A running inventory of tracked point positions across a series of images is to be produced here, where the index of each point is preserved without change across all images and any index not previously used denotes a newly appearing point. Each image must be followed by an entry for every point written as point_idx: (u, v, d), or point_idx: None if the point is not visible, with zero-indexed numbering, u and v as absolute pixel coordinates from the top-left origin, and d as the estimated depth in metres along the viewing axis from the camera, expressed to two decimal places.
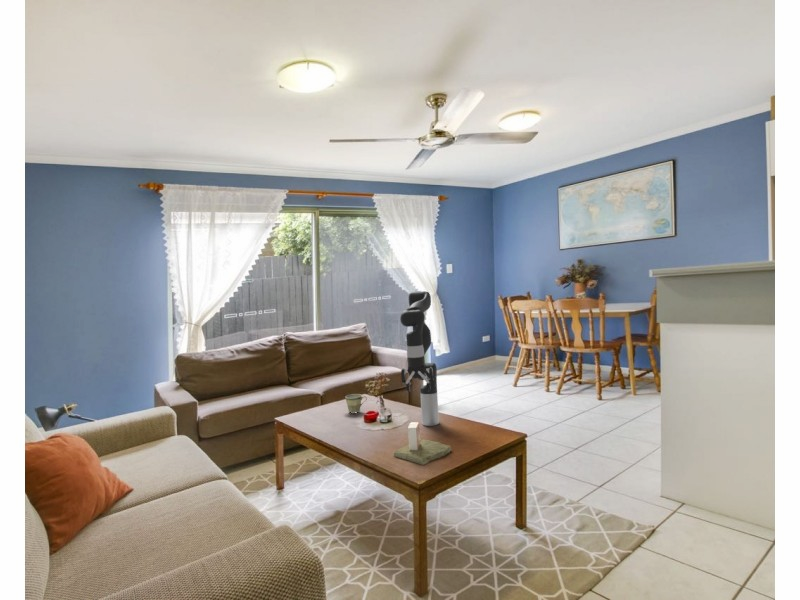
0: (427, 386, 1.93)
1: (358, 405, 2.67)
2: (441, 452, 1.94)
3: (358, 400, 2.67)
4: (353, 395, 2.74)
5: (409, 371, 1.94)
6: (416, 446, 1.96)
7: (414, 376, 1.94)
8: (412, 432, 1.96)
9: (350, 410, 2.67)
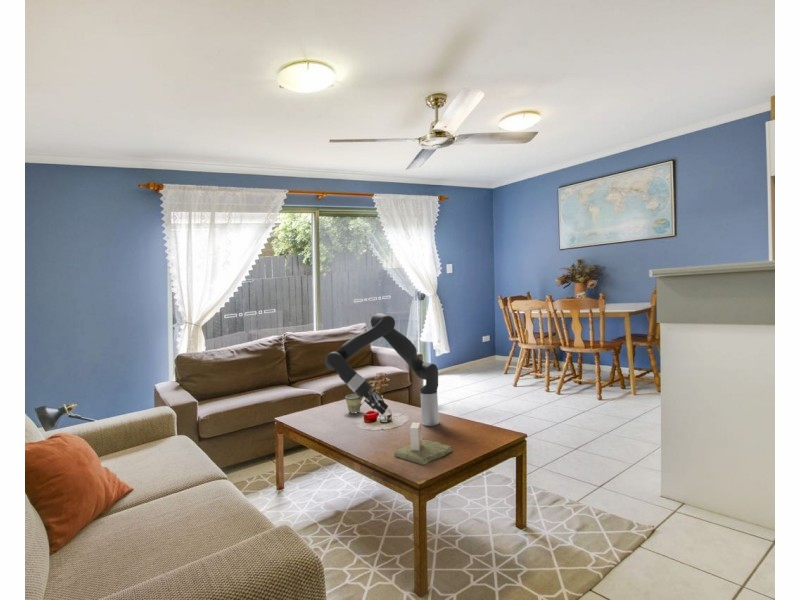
0: None
1: (358, 405, 2.67)
2: (441, 452, 1.94)
3: (358, 400, 2.67)
4: (353, 395, 2.74)
5: None
6: (418, 446, 1.95)
7: None
8: (414, 432, 1.95)
9: (350, 410, 2.67)
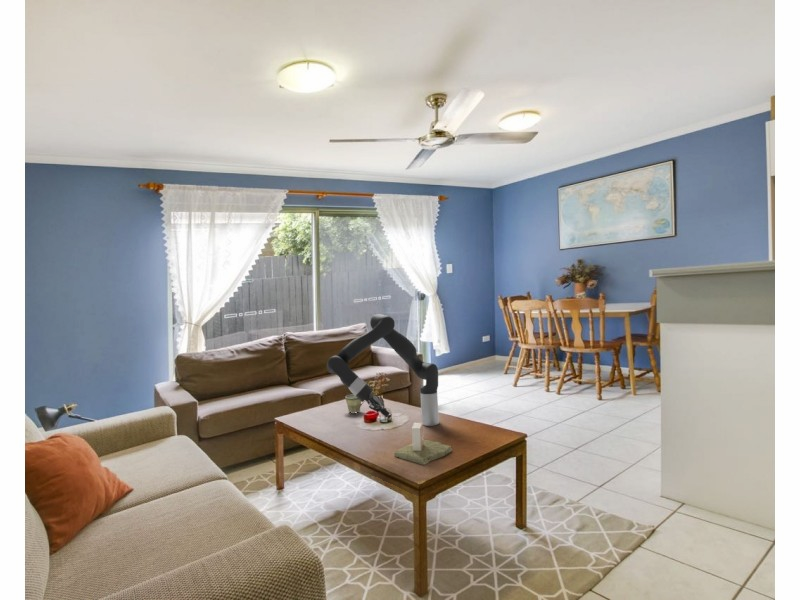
0: (382, 413, 2.01)
1: (358, 405, 2.67)
2: (442, 452, 1.94)
3: (358, 400, 2.67)
4: (353, 395, 2.74)
5: None
6: (420, 447, 1.95)
7: None
8: (416, 432, 1.95)
9: (350, 410, 2.67)
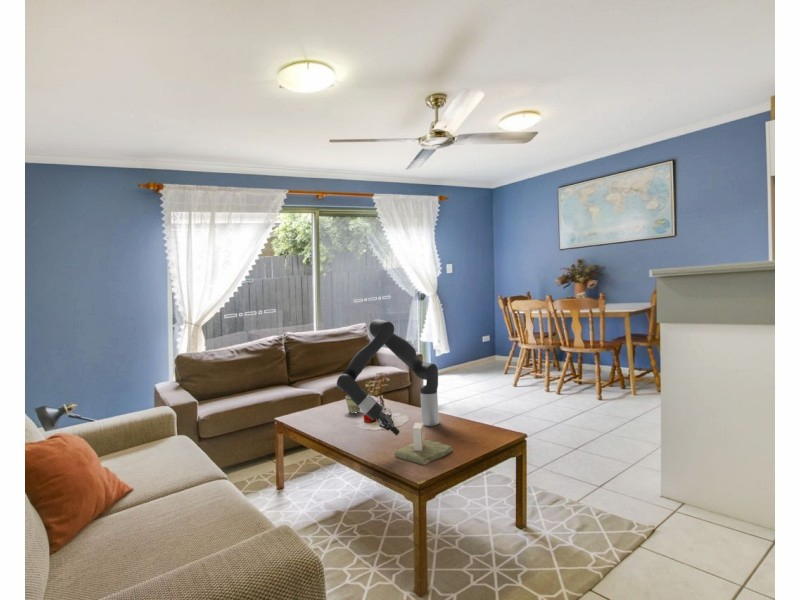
0: None
1: None
2: (442, 452, 1.94)
3: None
4: None
5: None
6: (421, 447, 1.95)
7: None
8: (417, 432, 1.95)
9: (350, 410, 2.67)
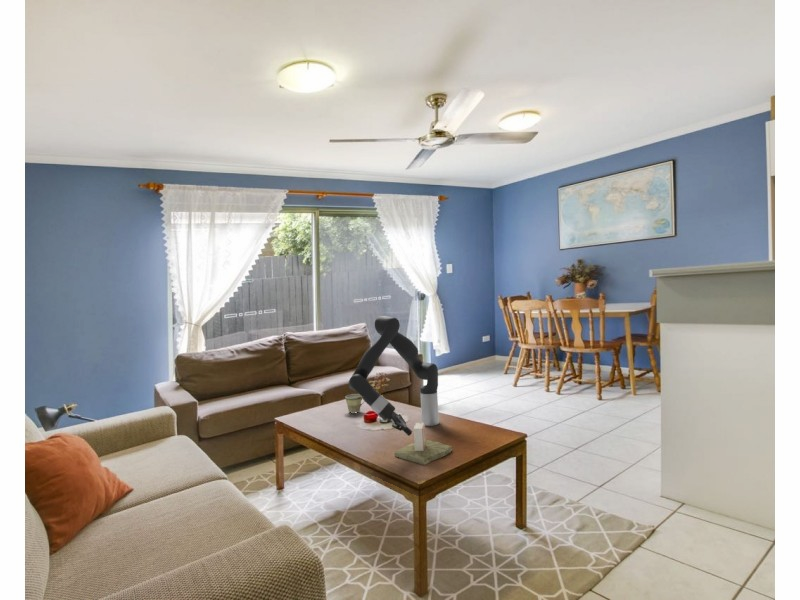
0: (405, 432, 1.99)
1: (358, 405, 2.67)
2: (442, 452, 1.94)
3: (358, 400, 2.67)
4: (353, 395, 2.74)
5: None
6: (422, 447, 1.94)
7: None
8: (418, 433, 1.94)
9: (350, 410, 2.67)
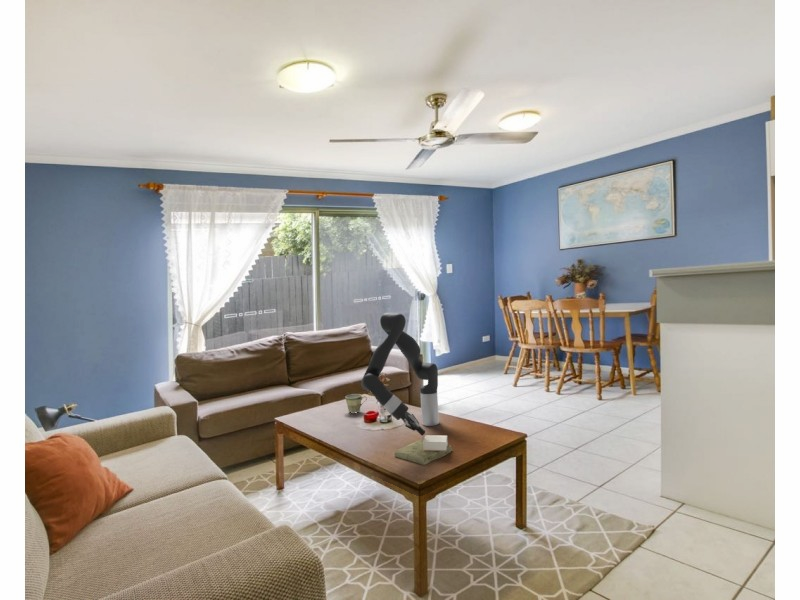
0: (418, 432, 1.99)
1: (358, 405, 2.67)
2: (442, 452, 1.94)
3: (358, 400, 2.67)
4: (353, 395, 2.74)
5: None
6: (427, 449, 1.94)
7: None
8: (441, 446, 1.93)
9: (350, 410, 2.67)
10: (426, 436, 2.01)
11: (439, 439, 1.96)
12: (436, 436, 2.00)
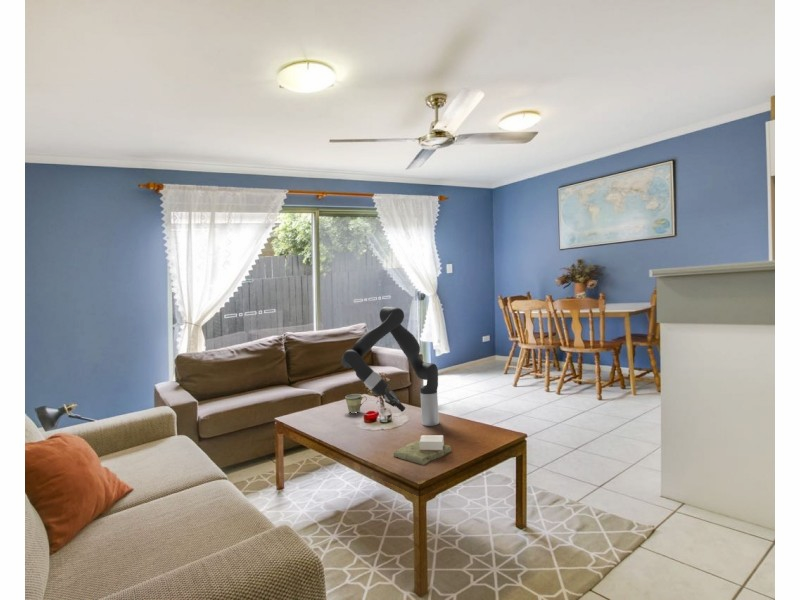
0: (398, 408, 1.99)
1: (358, 405, 2.67)
2: (441, 452, 1.94)
3: (358, 400, 2.67)
4: (353, 395, 2.74)
5: None
6: (423, 449, 1.95)
7: None
8: (437, 445, 1.94)
9: (350, 410, 2.67)
10: (422, 436, 2.01)
11: (436, 439, 1.97)
12: (432, 436, 2.01)
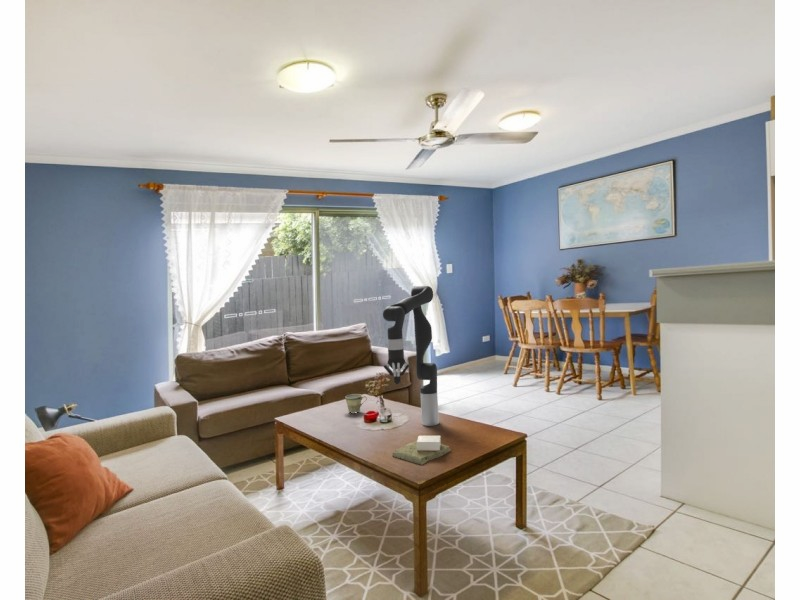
0: (397, 379, 2.10)
1: (358, 405, 2.67)
2: (439, 452, 1.94)
3: (358, 400, 2.67)
4: (353, 395, 2.74)
5: (390, 365, 2.11)
6: (420, 449, 1.95)
7: (396, 366, 2.10)
8: (434, 446, 1.94)
9: (350, 410, 2.67)
10: (419, 436, 2.01)
11: (433, 439, 1.97)
12: (429, 436, 2.01)
